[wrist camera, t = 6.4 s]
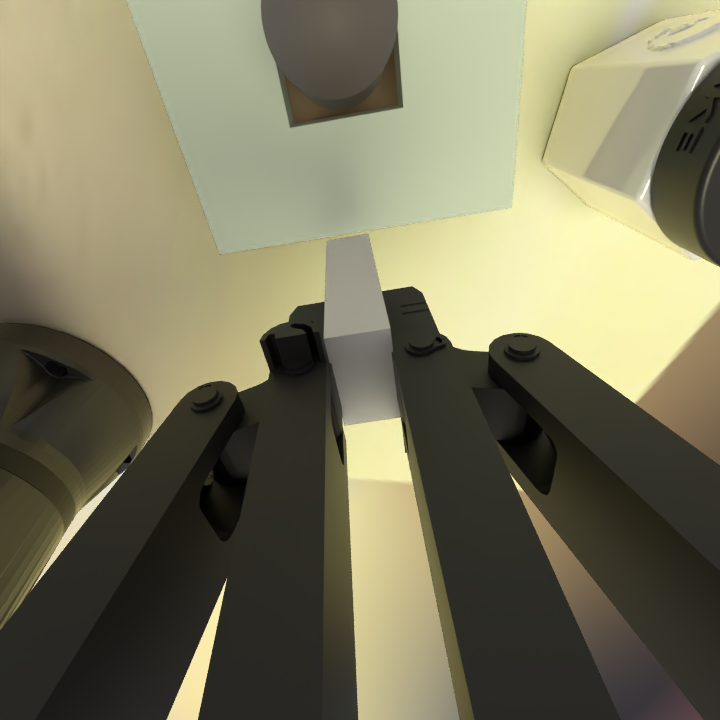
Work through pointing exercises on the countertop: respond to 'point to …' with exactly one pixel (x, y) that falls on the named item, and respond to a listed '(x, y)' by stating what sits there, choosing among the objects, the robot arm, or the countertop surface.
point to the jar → (648, 134)
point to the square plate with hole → (339, 122)
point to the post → (333, 54)
